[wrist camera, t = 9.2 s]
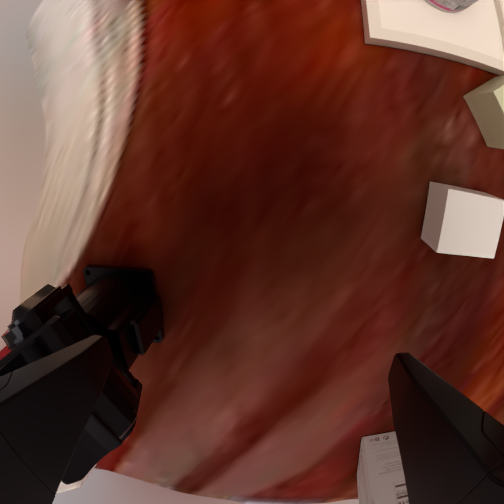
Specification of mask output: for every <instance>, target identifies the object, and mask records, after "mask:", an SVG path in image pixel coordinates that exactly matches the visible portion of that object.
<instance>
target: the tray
mask: <svg viewBox="0 0 504 504" xmlns="http://www.w3.org/2000/svg"><path fill="white" fill-rule="evenodd" d="M361 6H362V15H363V25H364V37H365V44H373V45H380V46H386V47H393V48H398V49H404V50H409V51H414V52H419V53H424V54H428V55H433V56H437V57H441V58H445V59H449V60H452V61H456V62H459V63H463V64H466V65H470V66H473V67H476V68H479V69H482V70H485V71H488V72H491V73H494V74H497V75H499V76H502V75H504V0H478V1H477V2H475V3H474V4H472V5H471V6H469V7H468V8H466V9H464V10H462V11H460V12H447V11H444V10H441V9H439V8H437V7H435V6H433V5H432V4H430V3H429V2H428V1H426V0H361Z"/></svg>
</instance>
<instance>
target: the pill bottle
mask: <svg viewBox="0 0 504 504" xmlns="http://www.w3.org/2000/svg"><path fill="white" fill-rule="evenodd" d="M426 1H428V2H429V3H430V4H432V5H433V6H435V7H437V8H439V9H441V10H444V11H447V12H460V11H462V10H464V9H466V8H468V7H469V6H471V5H472V4H474V3H475V2H477V1H478V0H426Z"/></svg>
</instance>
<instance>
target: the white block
mask: <svg viewBox="0 0 504 504" xmlns="http://www.w3.org/2000/svg"><path fill="white" fill-rule="evenodd" d="M503 217H504V200H503V199H500V198H498V197H495V196H493V195H490V194H488V193H485V192H480V191H476V190H471V189H466V188H462V187H457V186H452V185H447V184H441V183H436V182H430V185H429V192H428V199H427V205H426V212H425V218H424V223H423V229H422V234H421V239H422V240H423V241H424V242H425V243H427V244H428V245H429V246H430V247H431V248H432V249H433V250H434V251H435V252H437V253H446V254H456V255H465V256H475V257H484V258H493V259H494V256H495V252H496V248H497V244H498V240H499V236H500V231H501V226H502V222H503Z"/></svg>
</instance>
